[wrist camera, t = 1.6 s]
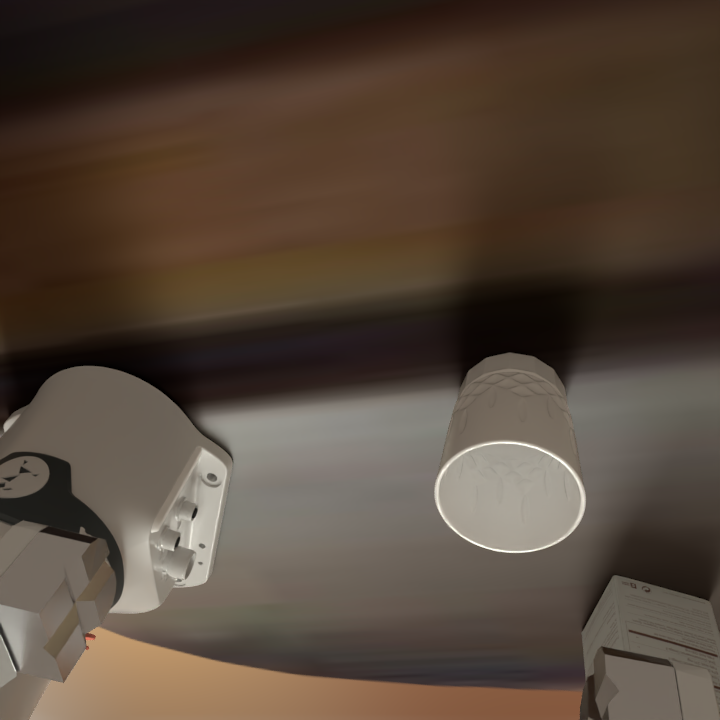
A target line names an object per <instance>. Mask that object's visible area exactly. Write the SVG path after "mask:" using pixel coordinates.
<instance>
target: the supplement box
mask: <svg viewBox="0 0 720 720" xmlns="http://www.w3.org/2000/svg"><path fill="white" fill-rule="evenodd" d="M582 640H583V653H584V664H585V675H586V680H587V677H589V676H591V675H593V674H594V657H595V655H596V652H597V650H598V649H599V648H600V647H601V646H603V647H608V648H613V649H618V650H623V651H628V652H633V653H638V654H643V655H648V656H653V657H658V658H663V659H668V660H669V661H671V662H677V663H682V664H687V665H692V666H697V667H702V668H705V669H707V670H708V672H709V673H710V675H711V676H712V680H713V684H714V689H715V694H716V699H717V703H718V708H719V713H720V634H719V631H718V627H717V624H716V620H715V617H714V614H713V610H712V606H711V603H710V602H709V601H707V600H705V599H701V598H698V597H695V596H691V595H687V594H684V593H680V592H677V591H673V590H669V589H666V588H662V587H659V586H655V585H651V584H648V583H644V582H641V581H637V580H633V579H629V578H626V577H622V576H618V575H614V576H613V577H612V579H611V580H610V582H609V584H608V586H607V587H606V589H605V591H604V593H603V595H602V597H601V598H600V600H599V602H598V604H597V606H596V608H595V609H594V611H593V613H592V615H591V617H590V619H589V620H588V622H587V624H586V626H585V628H584V630H583V631H582Z"/></svg>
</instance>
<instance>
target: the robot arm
mask: <svg viewBox="0 0 720 720" xmlns="http://www.w3.org/2000/svg"><path fill="white" fill-rule="evenodd" d="M4 431H5V433H4V435H3V436H2V437H1V438H0V720H29V719H30V717H31V715H32V713H33V711H34V709H35V708H36V706H37V704H38V702H39V700H40V698H41V697H42V695H43V693H44V691H45V690H46V687H47V686H48V684H49V682H50V681H51V680H54V681H58V682H63V683H64V682H65V680H66V679H67V677H68V675H69V674H70V672H71V670H72V669H73V668H74V666H75V665H76V663H77V661H78V660H79V658H80V657H81V655H82V653H83V652H84V650H85V649H86V650H88V649H89V647H88V646H86V640H94V639H95V637H96V636H95V635H93V634H89V633H88V632H90V631H91V630H93V629H95V628H96V627H98V626H100V625H101V624H102V622H103V620H104V619H105V617H106V616H107V614H108V613H143V612H147V611H151V610H153V609H155V608H157V607H159V606H160V605H161V604H162V603H163V602H164V601H165V599H166V598H167V596H168V594H169V593H170V591H171V590H172V588H173V587H191V586H196V585H200V584H203V583H205V582H206V581H207V580H208V578H209V577H210V575H211V573H212V570H213V565H214V560H215V555H216V550H217V545H218V539H219V534H220V529H221V524H222V519H223V514H224V509H225V503H226V498H227V493H228V488H229V483H230V478H231V473H232V467H233V462H232V459H231V457H230V456H229V455H228V454H227V452H225V451H224V450H223V449H222V448H220V447H219V446H218V445H216V444H215V443H214V442H212V441H211V440H209V439H208V438H206V437H205V436H203V435H202V434H201V433H200V432H199V431H198V430H197V429H196V428H195V427H194V425H193V424H192V423H191V421H190V420H189V419H188V418H187V416H186V415H185V414H184V413H183V411H182V410H181V409H180V408H179V407H178V406H177V405H176V404H175V403H174V402H173V401H172V400H171V399H169V398H168V397H167V396H166V395H165V394H163V393H162V392H161V391H159V390H158V389H156V388H155V387H153V386H152V385H150V384H149V383H147V382H145V381H143V380H141V379H139V378H137V377H135V376H133V375H130V374H128V373H125V372H122V371H119V370H115V369H111V368H106V367H99V366H78V367H72V368H68V369H65V370H62V371H60V372H58V373H56V374H54V375H53V376H51V377H50V378H49V379H48V380H46V381H45V382H44V384H43V385H42V386H41V387H40V389H39V391H38V392H37V394H36V396H35V397H34V399H33V400H32V401H31V403H30V404H29V405H27V406H25V407H23V408H20V409H18V410H17V411H15V412H14V413H12V414H11V416H10V417H9V418H8V419H7V420H6V422H5V423H4ZM212 473H213V474H215V475H213V474H212ZM580 720H720V713H719V708H718V703H717V699H716V694H715V689H714V684H713V680H712V676H711V675H710V673H709V672H708V670H707V669H705V668H702V667H697V666H692V665H687V664H682V663H677V662H671V661H669V660H668V659H663V658H658V657H653V656H648V655H643V654H638V653H633V652H628V651H623V650H618V649H613V648H608V647H603V646H601V647H600V648H599V649H598V650H597V652H596V655H595V657H594V674H593V675H591V676H589V677H587V680H586V683H585V686H584V689H583V694H582V700H581V706H580Z"/></svg>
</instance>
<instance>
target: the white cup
mask: <svg viewBox="0 0 720 720" xmlns="http://www.w3.org/2000/svg"><path fill="white" fill-rule="evenodd" d="M434 494H435V501H436V505H437V508H438V510H439V513H440V514H441V516H442V518H443V519H444V521H445V522H446V523H447V524H448V526H449V527H450V528H451V529H452V530H454V531H455V532H456V533H457V534H458V535H460V536H461V537H463V538H464V539H466V540H468V541H469V542H471V543H473V544H476V545H478V546H481V547H483V548H487V549H490V550H494V551H500V552H508V553H523V552H532V551H537V550H541V549H544V548H547V547H550V546H552V545H554V544H556V543H558V542H560V541H561V540H563V539H564V538H566V537H567V536H568V535H569V534H571V533H572V532H573V531H574V529H575V528H576V527H577V526H578V524H579V523H580V521H581V519H582V517H583V514H584V511H585V506H586V495H585V489H584V483H583V478H582V472H581V466H580V460H579V454H578V448H577V442H576V437H575V432H574V429H573V423H572V418H571V414H570V411H569V408H568V405H567V399H566V392H565V387H564V385H563V384H562V382H561V380H560V379H559V377H558V375H557V374H556V372H555V370H554V369H553V368H551V367H550V366H548V365H547V364H545V363H543V362H542V361H540V360H539V359H537V358H536V357H534V356H529V355H522V354H516V353H510V352H509V353H504V354H500V355H495V356H491V357H487V358H485V359H484V360H482V361H481V362H480V363H478V364H477V365H475V366H474V367H473V368H471V369H470V370H469V371H468V373H467V375H466V377H465V379H464V381H463V383H462V385H461V387H460V390H459V394H458V399H457V401H456V404H455V407H454V410H453V414H452V417H451V421H450V424H449V428H448V432H447V436H446V440H445V445H444V449H443V453H442V458H441V462H440V466H439V470H438V474H437V478H436V482H435V489H434Z"/></svg>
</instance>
